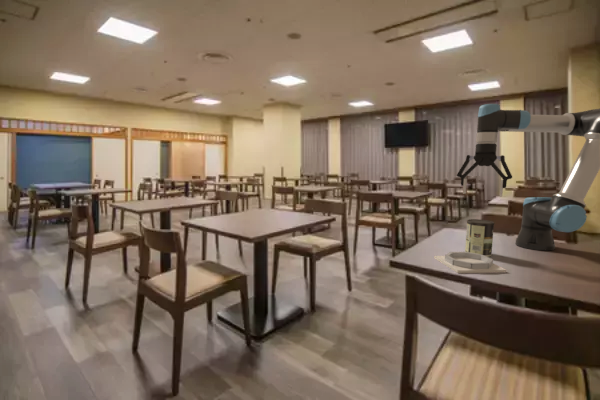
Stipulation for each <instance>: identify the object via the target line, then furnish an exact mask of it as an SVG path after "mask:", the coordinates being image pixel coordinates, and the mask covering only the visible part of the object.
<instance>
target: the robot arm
mask: <svg viewBox="0 0 600 400" xmlns="http://www.w3.org/2000/svg"><path fill="white" fill-rule="evenodd" d="M477 114H478V115H477V129H476V138H475V142H476V145H475V150H474V151H475V154H474V155H471V154H467V155H466V156H465V157H466V158H465V161H464V163H463V164H462V166H461V167H460V168H459V170H458V172H457V174H456V177H458V178H460V186H461V187H462V194H463V195H465V194H467V183H468V178H466V177H467V176H468V175H470V174H471V173H472V171H473V170H474V169H476V168H477V167H478V166H479V167H490V166H491V168H493V170H495V172H496V173H497V174H498V176H500V178H501V179H500V183H499V184H500V185H499V195H498V196H499V197H503V192H504V191H503V190H504V189H506V188H507V184H508V183H507V182H508V180H511V179H513V175H512V173H511V170H510V169H509V166H508V164H507V163H506V157H505V155H503V154H501V155H497V144H496V143H497V142H498V134H499V133H498V132H509V133H510V132H515V133H516V132H518V133H523V132H524V133H559V134H560V135H561V136H562V135H563V136H575V137H583V138H585V142H584V144H583V146H582V148H581V150H580V151H579V153H578V155H577V157H576V159H575V161H574V163H573V166H572V167H571V169H570V171H569V173H568V174H567V177H566V179H565V181H564V182H563V185H562V186H561V189H560V191H559V192H557V193H555V194H552V197H550V196H549V197H546V196H545V197H541V196H540V197H539V196H537V197H535V196H534V197H533V196H531V197H526V198H524V199H523V204H522V216H521V225H520V226H521V227H520V230H519V233H518V235H517V237H516V238H515V245H516V246H518V247H521V248H523V249H528V250H536V251H554V250H555V249H556V243H555V239H554V236H553V232H552V231H553V230H555V231H557V232H563V233H573V232H575V231H577V230H580V229H581V228H582V227H583V226H584V225H585V223H586V221H587V218H588V216H587V215H586V214H587V211H586V209H585V208H586V207H587V206H586V203H585V201H584V200H585V198H586V196H587V195H588V192H589V190H590V188H591V187H592V184H593V183H594V181H595V179H596V177H597V175H598V173H599V171H600V108H594V109H588V110H584V111H583V110H582V111H578V112H566V113H564V114H531V113H530V111H529V110H522V109H510V110H509V109H501V106H500V104H498V103H487V104H486V103H485V104H482V105H480V106H479V108H478V113H477ZM472 160H474V161H475V162H474V163H473V164H472V165H471V166H470V167H469V168H468V169H467V170H466V168H467V166H468V165H469V163H470V162H471V161H472ZM496 160H498V161H499V162H500V163H501V165H502V167H503V169H504V172H505V173H503V171H502V170H501V169H500V168H499V166H497V164H496V163H495V161H496ZM464 171H465V172H464Z"/></svg>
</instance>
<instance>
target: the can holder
mask: <svg viewBox="0 0 600 400" xmlns="http://www.w3.org/2000/svg"><path fill="white" fill-rule="evenodd" d="M433 258H434V259H435V260H436V261H438V262H440V263H441V264H442V265H444V266H445V267H447V268H449V270H452V271H453V272H455V273H456V274H489V273H491V274H492V273H493V274H495V273H497V274H499V273H500V274H501V273H504V274H505V273H507V269H505V268H503V267H501V266H500V265H497V264H496V263H494V259H493V258H491V257H487V256H485V255H482V254H476V253H470V252H465V251H449V252H447V253H446V254H444V255H434V257H433Z"/></svg>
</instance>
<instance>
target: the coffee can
mask: <svg viewBox="0 0 600 400" xmlns="http://www.w3.org/2000/svg"><path fill="white" fill-rule="evenodd" d="M494 229H495V222H494V221H493V220H487V219H478V218H476V219H475V218H474V219H467V220H466V232H465V233H466V234H465V249H464V252H470V253H476V254H482V255H485V256H487V257H489V258H491V257H492V256H493V255H492V253H493V252H492V251H493V243H494V242H493V239H494Z"/></svg>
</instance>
